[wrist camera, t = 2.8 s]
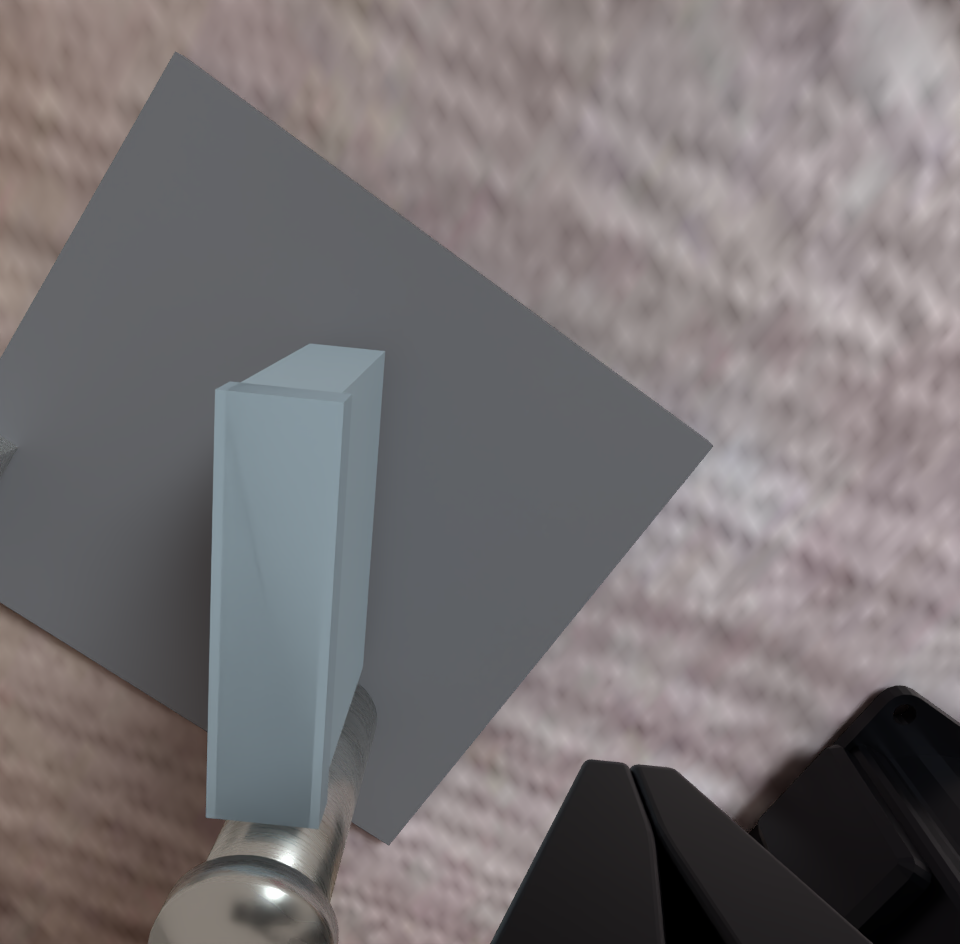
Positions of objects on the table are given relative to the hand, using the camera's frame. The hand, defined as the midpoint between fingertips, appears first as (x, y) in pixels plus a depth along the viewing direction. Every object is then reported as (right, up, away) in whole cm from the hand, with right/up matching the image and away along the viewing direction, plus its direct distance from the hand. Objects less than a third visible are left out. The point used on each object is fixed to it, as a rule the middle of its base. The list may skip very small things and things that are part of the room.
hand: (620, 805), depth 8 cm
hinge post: (-5, -2, +13) cm, 14 cm away
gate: (-4, +2, +10) cm, 11 cm away
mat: (-5, +3, +11) cm, 13 cm away
